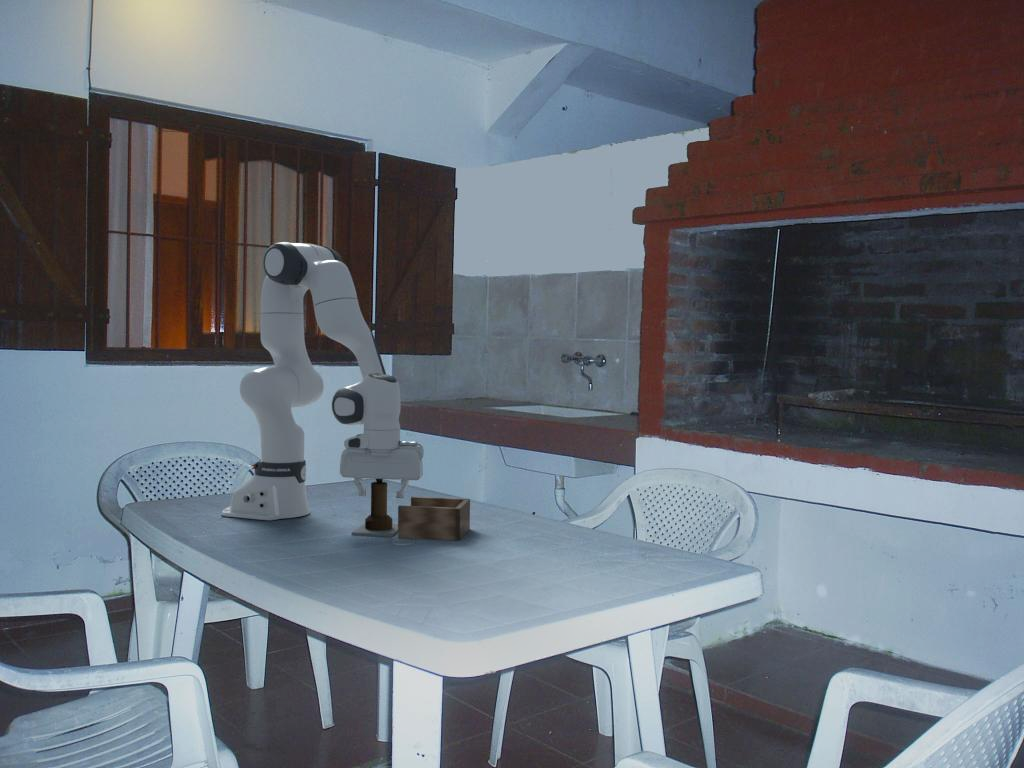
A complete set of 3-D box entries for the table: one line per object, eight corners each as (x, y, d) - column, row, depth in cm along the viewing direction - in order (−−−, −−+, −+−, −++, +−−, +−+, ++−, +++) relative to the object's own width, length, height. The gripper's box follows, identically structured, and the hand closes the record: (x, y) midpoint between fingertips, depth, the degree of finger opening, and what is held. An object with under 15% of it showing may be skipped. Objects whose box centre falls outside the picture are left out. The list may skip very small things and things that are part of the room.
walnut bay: (397, 537, 209) (398, 506, 208) (411, 526, 222) (411, 496, 221) (459, 540, 207) (459, 508, 206) (469, 528, 220) (470, 499, 219)
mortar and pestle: (395, 525, 219) (395, 453, 218) (388, 531, 213) (389, 457, 212) (368, 524, 220) (369, 452, 219) (361, 530, 213) (362, 456, 212)
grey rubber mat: (351, 534, 211) (351, 532, 211) (366, 524, 223) (366, 522, 223) (392, 536, 209) (392, 534, 209) (405, 526, 221) (405, 523, 221)
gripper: (426, 440, 217) (425, 496, 217) (346, 437, 219) (345, 492, 220) (420, 443, 210) (419, 501, 211) (337, 440, 213) (337, 497, 214)
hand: (381, 496), depth 216 cm, fingers open, 8 cm apart
